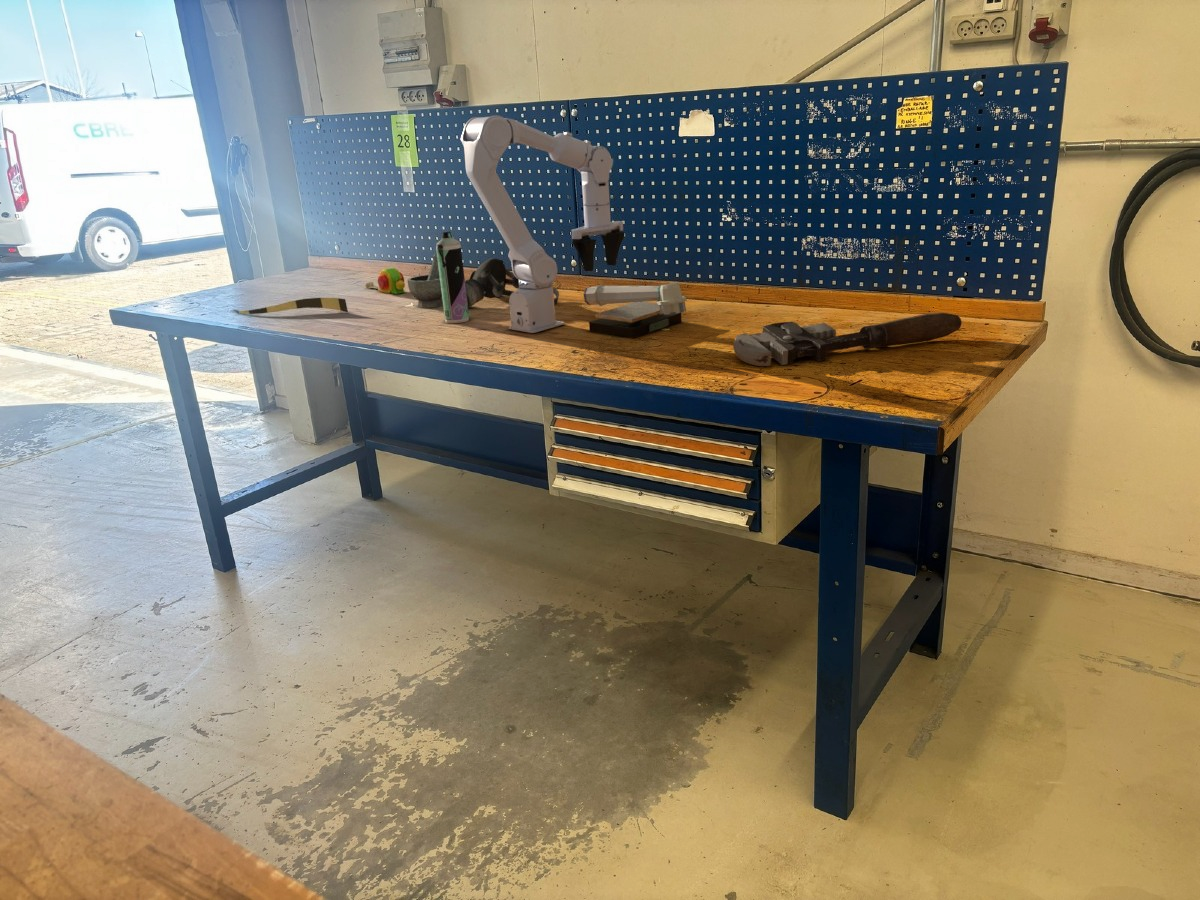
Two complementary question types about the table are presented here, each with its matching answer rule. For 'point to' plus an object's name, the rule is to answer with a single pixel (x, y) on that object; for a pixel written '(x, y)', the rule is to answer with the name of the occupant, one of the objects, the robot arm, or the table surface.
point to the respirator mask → (491, 282)
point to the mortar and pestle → (427, 287)
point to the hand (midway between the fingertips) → (600, 267)
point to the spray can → (452, 279)
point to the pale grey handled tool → (638, 296)
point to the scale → (634, 325)
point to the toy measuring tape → (389, 281)
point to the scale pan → (631, 312)
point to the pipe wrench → (837, 338)
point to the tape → (303, 305)
